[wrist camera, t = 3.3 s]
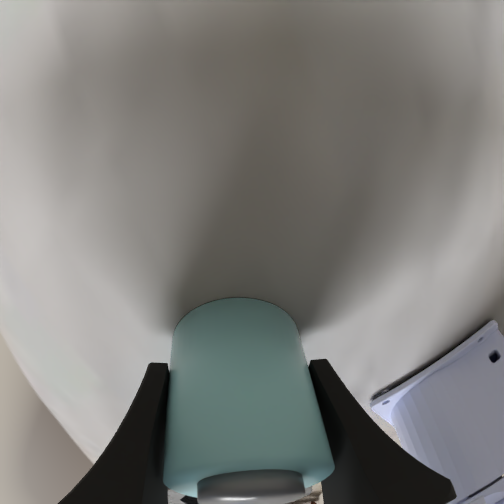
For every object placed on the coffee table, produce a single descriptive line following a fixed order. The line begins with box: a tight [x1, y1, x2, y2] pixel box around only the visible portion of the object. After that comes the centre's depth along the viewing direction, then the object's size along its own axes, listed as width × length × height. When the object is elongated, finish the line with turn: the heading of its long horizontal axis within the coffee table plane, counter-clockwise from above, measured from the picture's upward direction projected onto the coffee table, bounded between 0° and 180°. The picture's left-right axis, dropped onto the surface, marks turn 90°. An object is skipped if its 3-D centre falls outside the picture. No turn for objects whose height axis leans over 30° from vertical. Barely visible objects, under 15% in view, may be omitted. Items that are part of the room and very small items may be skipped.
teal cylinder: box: [163, 298, 335, 504], centre depth 10 cm, size 5×5×7 cm
